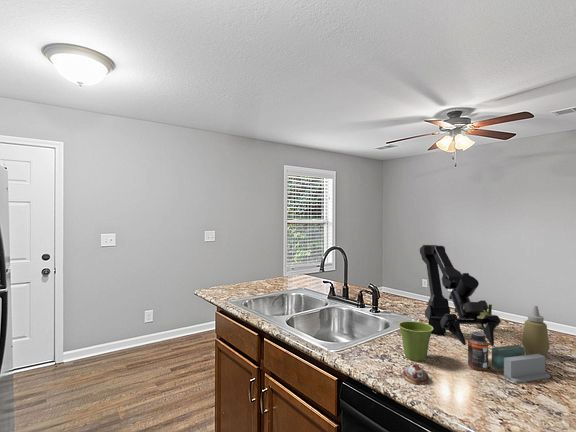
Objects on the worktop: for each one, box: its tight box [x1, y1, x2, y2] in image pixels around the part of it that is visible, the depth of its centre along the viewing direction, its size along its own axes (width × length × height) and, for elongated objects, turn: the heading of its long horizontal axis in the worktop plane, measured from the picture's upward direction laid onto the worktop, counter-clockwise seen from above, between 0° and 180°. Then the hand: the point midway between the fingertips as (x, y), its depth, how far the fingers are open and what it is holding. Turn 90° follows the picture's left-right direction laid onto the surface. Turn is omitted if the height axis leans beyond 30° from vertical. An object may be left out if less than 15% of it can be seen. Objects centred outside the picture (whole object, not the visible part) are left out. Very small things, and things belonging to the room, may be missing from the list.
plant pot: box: [397, 320, 433, 362], centre depth 116 cm, size 12×12×11 cm
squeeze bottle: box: [521, 305, 550, 357], centre depth 120 cm, size 8×8×18 cm
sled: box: [488, 344, 525, 372], centre depth 113 cm, size 11×11×7 cm
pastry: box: [402, 363, 430, 385], centre depth 101 cm, size 8×8×5 cm
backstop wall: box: [503, 354, 551, 384], centre depth 102 cm, size 4×14×6 cm, turn 105°
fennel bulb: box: [475, 303, 493, 330], centre depth 148 cm, size 6×5×12 cm
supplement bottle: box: [467, 331, 489, 372], centre depth 109 cm, size 6×6×11 cm
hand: (478, 345), depth 109 cm, fingers open, 9 cm apart
